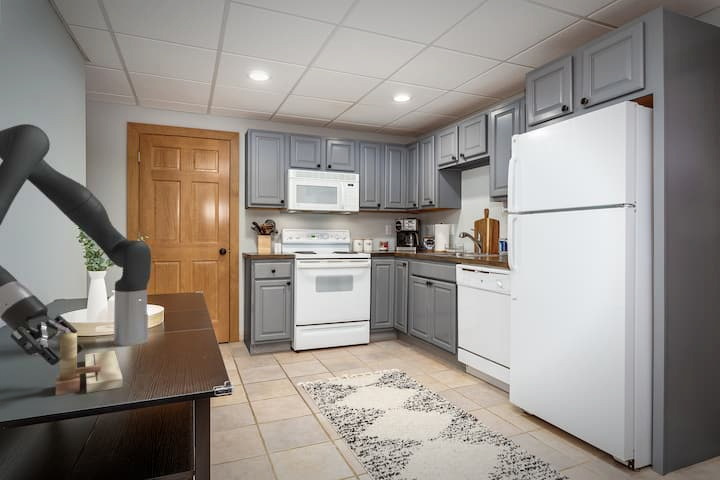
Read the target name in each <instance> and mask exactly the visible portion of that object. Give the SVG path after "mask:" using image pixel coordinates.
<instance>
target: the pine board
mask: <svg viewBox="0 0 720 480" xmlns="http://www.w3.org/2000/svg"><path fill="white" fill-rule="evenodd" d="M84 363H85V364H84V365H85V366H84V367H87V366H94V365H101V371H100V372H98V375H95V372H93V373H86V374H85V381H86V385H85V387H86V394H89V393H95V392H102V391H106V390H111V389H118V388H123V385H124V383H123V380H124V379H123V374H122V372H121V369H120V364H119V361H118V358H117V355H116V351H115V350H110V351H103V352H102V351H101V352H100V351H99V352H95V353H94V352H92V353H84Z"/></svg>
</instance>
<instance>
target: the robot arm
mask: <svg viewBox="0 0 720 480" xmlns="http://www.w3.org/2000/svg"><path fill="white" fill-rule="evenodd" d="M48 136H49V135H47V133H46V132H45V131H44V130H43V129H41V128H40V127H39V126H37V125H35V124H31V123H30V124H29V123H28V124H27V123H25V124H17V125H14V126H13V125H12V126H10V127H8V128H4V129H1V130H0V159H1V160H2V161H1V163H0V226H1V225H2V223H3V222H4V219H5V217H6V216H7V214H8V213H9V210H10V207H12V204H13V202H14V200H15V199H16V197H17V196H18V194H19V193H20V191H21V189H22V187H23V186H24V184H25V183H26V181H29V182H30V183H31V185H33V186H34V187H35V188H37V189H38V190H39V191H40V192H41V194H43V195H44V196H45V197H46V198H47V199H48V200H49V201H51V203H52V204H53V205H55V206H56V207H57V208H58V209H59V210H60V211H61V213H62V214H64V216H65V217H67V218H68V219H69V221H71V222H72V223H74V224H75V225H76V226H77V227H78V228H79V229H80V230H81V231H82V232H83V233H84V234H85V235H86V236H88V238H90V239H92V241H93V242H95V243H96V245H97V246H98V247H99V248H100V249H101V250H102V251H103V253H104V254H105V255H106V256H107V258H108V259H109V260H110V261H111V262H112V264H114V265H115V266H117V267H118V268H122V275H121V277H120V279H118V280H116V281H115V283H114V318H113V319H114V322H113V324H114V326H113V336H114V337H113V340H114V341H113V344H114V345H115V346H118V347H129V346H130V347H132V346H137V345H141V344H146V343H148V340H149V339H148V337H149V336H148V331H149V330H148V328H149V324H148V323H149V320H148V319H149V314H148V284H149V282H150V279H151V270H152V269H151V268H152V267H151V266H152V252H151V248H150V246H149V245H148V243H146V242H145V241H142V240H133V239H128V238H127V237H126V236H123V234H122V233H120V231H119V230H118V229H116V228H115V227H114V226H113V224H112V222H111V221H110V218H109V215H108V213H107V209H106V208H105V206H104V205H103V203H102V202H101V201H100V200H99V199H98V198H97V197H96V196H95V195H94V194H93V193H92V192H91V190H90V189H88V188H87V187H86V186H84V185H83V184H81V183H79V182H78V181H76V180H74V179H72V178H71V177H69V176H67V175H65V174H62V173H61V172H60V171H58V170H56V169H55V168H53V167H52V166H51V165H50V164H49V163H48V162H47V161H46V160H45V159H44V158H45V157H46V155H48V153H49V150H50V147H51V146H50V145H51V144H50V138H49V137H48ZM48 312H49V307H47V306H46V305H45V304H44V303H43V302H42V301H41V300H40V299H39V298H38V297H37V296H36V294H34V293H33V292H32V291H31V290H30V289H29V288H28V287H26V286H25V285H24V284H22V283H21V282H20V281H18V280H17V278H16V277H15V276H14V275H12V274H11V273H10V272H9V271H8V269H6V268H4V267H3V266H2V265H1V264H0V319H1V320H2V321H3V322H4V323H5V324H6V326H8V327H9V328H10V329H11V330H12V331H13V332H12V333H11V334H10V337H11V339H13V340H12V341H14V342H15V343H16V344H17V345H18V346H19V347H20V348H21V349H22V350H23V351H24V352H25V354H27V355H29V356H31V355H34V354H35V355H38V356H39V355H40V356H41V357H42V358H43V359H44V360H45V361H46V362H47V363H48V364H50V366H55V365H57V364H58V363H60V360H61V357H60V354H59V353H57V352H56V350H54V349H53V348H52V347H51V346H49V344H48V341H50V340H52V341H59V342H60V335H62V334H67V333H77V334H78V330H77V329H76V328H75V327H74V326H73V325H72V324H71V323H69V322H68V321H67V319H65V318H64V317H63V316H62V315H60V314H59V315H57V316H56V317H54V318H51V317H50V316H48ZM28 343H29V344H30V346H29V345H28ZM84 349H85V346H84V345H83V344H82V343H81V342H80V341H79V340H78V339H77V355H78V354H81V352H82V351H83V350H84Z"/></svg>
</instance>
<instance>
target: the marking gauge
mask: <svg viewBox="0 0 720 480" xmlns="http://www.w3.org/2000/svg"><path fill="white" fill-rule="evenodd" d="M77 340H78V332H77V333H67V334H62V335H60V341H59V356H60V357H61V360H60V361H59V375H56V380H55V396H60V395H65V394H70V393H72V394H73V393H77V392H80V391H81V377H80V376H81V375H86V373H93V372H95V375H98V372H100V371H101V365H94V366H87V367H85V366H81V367H78V359H77V358H78V354H77Z"/></svg>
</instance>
